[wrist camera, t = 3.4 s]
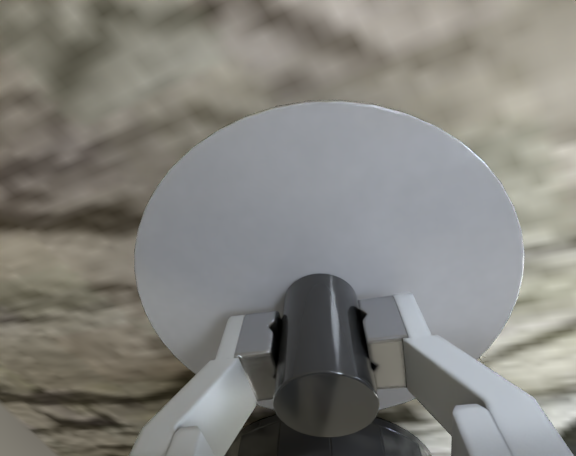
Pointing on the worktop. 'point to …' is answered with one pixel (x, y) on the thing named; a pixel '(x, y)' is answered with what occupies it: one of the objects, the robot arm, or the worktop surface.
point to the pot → (325, 441)
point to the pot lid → (327, 248)
